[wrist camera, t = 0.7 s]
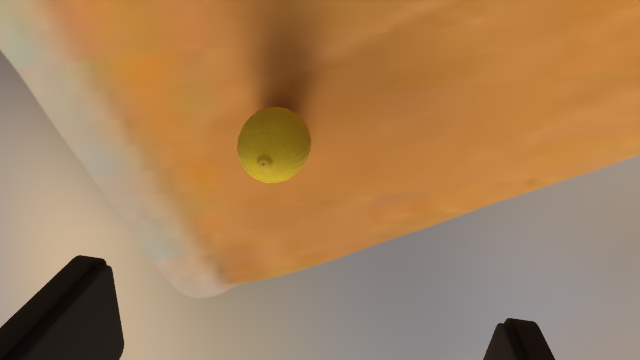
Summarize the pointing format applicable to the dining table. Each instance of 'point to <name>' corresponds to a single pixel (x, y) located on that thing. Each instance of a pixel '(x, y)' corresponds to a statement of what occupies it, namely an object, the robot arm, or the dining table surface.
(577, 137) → the dining table surface
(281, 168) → the lemon
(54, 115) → the dining table surface
